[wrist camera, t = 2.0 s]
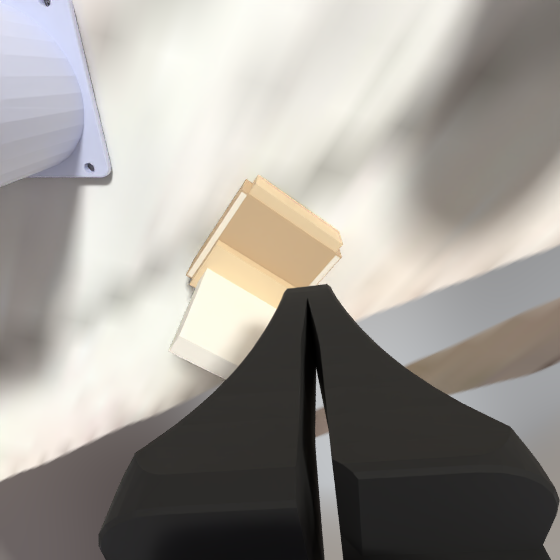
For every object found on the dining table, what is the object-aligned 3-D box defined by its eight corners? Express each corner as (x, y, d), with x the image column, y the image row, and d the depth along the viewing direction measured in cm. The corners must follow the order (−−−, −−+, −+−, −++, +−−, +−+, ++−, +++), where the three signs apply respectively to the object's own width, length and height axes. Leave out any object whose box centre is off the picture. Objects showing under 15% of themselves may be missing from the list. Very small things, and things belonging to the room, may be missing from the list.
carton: (252, 169, 19) (248, 179, 17) (344, 234, 21) (349, 249, 19) (193, 259, 22) (185, 275, 20) (279, 309, 24) (278, 328, 22)
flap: (218, 239, 19) (190, 307, 13) (302, 291, 20) (307, 371, 15) (191, 279, 20) (156, 355, 15) (273, 325, 22) (267, 410, 16)
